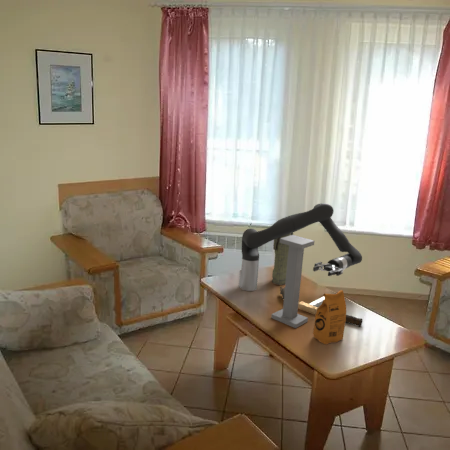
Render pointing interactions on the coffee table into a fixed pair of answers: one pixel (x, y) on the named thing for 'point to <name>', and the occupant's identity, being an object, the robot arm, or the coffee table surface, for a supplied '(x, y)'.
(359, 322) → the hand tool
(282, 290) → the rhino figurine
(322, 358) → the coffee table surface
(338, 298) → the coffee package
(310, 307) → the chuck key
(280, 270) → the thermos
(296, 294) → the headphone stand
